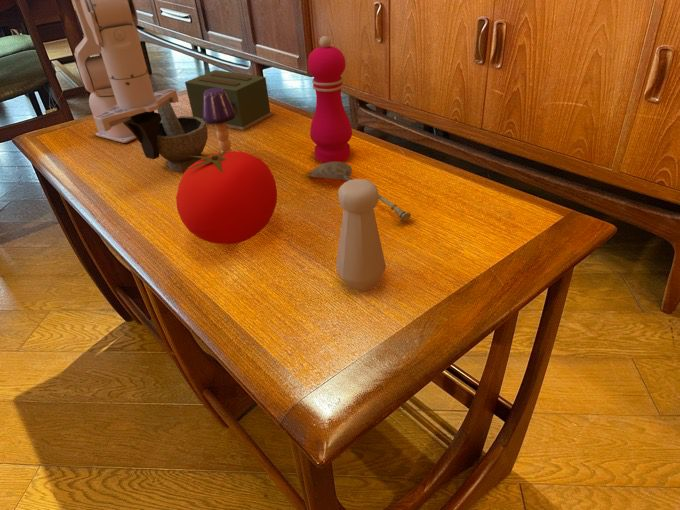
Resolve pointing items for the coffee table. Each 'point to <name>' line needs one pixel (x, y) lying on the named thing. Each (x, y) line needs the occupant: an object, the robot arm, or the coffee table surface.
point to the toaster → (233, 96)
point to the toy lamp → (218, 114)
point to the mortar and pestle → (180, 138)
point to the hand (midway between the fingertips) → (153, 157)
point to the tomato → (226, 197)
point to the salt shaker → (359, 236)
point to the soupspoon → (343, 173)
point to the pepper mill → (329, 104)
